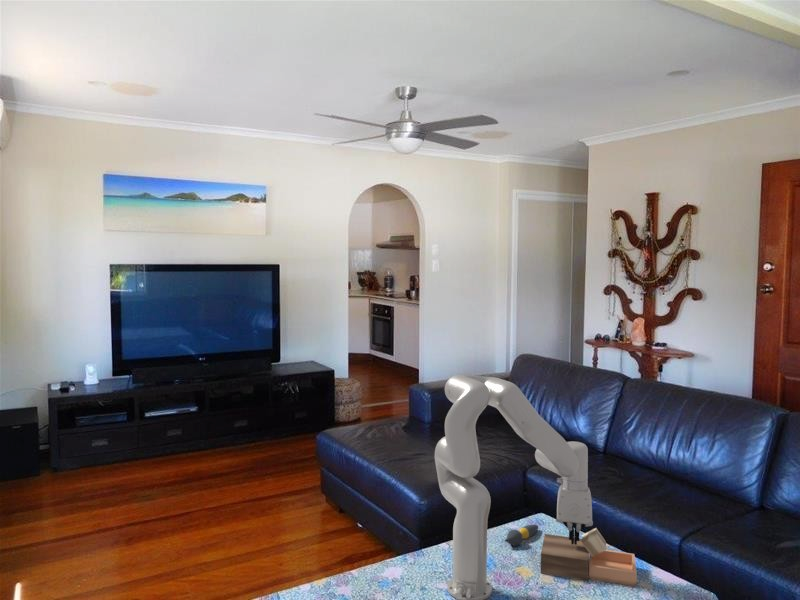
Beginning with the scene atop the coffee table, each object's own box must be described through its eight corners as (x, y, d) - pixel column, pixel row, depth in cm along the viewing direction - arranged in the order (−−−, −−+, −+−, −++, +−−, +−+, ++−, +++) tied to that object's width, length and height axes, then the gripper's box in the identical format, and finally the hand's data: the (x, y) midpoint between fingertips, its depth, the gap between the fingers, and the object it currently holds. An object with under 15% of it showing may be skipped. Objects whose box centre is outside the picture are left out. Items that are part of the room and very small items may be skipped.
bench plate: (588, 580, 175) (588, 560, 175) (540, 573, 180) (540, 553, 179) (588, 558, 189) (589, 539, 188) (544, 552, 193) (544, 533, 192)
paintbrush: (527, 527, 212) (527, 513, 211) (540, 531, 209) (541, 516, 208) (501, 548, 196) (501, 533, 196) (515, 552, 193) (515, 537, 193)
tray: (636, 586, 172) (636, 572, 172) (588, 579, 176) (589, 565, 176) (634, 566, 183) (634, 553, 183) (589, 560, 188) (589, 547, 187)
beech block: (591, 557, 180) (606, 549, 178) (581, 542, 180) (596, 535, 179) (591, 549, 184) (605, 541, 183) (582, 535, 185) (596, 527, 183)
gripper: (548, 485, 181) (548, 544, 182) (600, 490, 176) (600, 551, 177) (550, 476, 188) (549, 534, 189) (600, 481, 183) (599, 540, 184)
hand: (574, 542), depth 183 cm, fingers closed
